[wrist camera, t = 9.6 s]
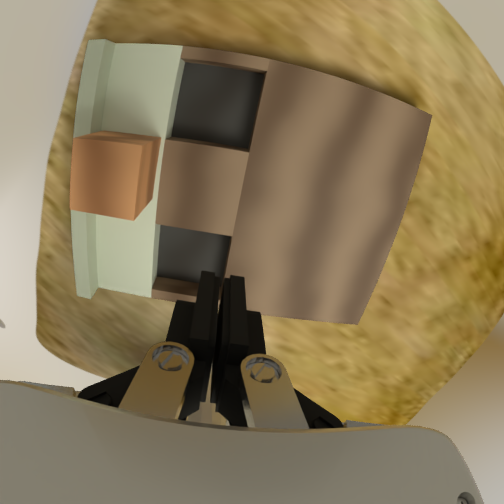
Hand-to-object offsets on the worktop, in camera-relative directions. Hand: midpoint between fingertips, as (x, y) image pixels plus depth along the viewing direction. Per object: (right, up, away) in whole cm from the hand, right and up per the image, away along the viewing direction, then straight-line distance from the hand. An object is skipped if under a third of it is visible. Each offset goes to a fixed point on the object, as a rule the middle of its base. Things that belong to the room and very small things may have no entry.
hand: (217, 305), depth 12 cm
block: (-8, +9, +10) cm, 16 cm away
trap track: (+4, +7, +15) cm, 17 cm away
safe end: (-9, +9, +13) cm, 18 cm away
